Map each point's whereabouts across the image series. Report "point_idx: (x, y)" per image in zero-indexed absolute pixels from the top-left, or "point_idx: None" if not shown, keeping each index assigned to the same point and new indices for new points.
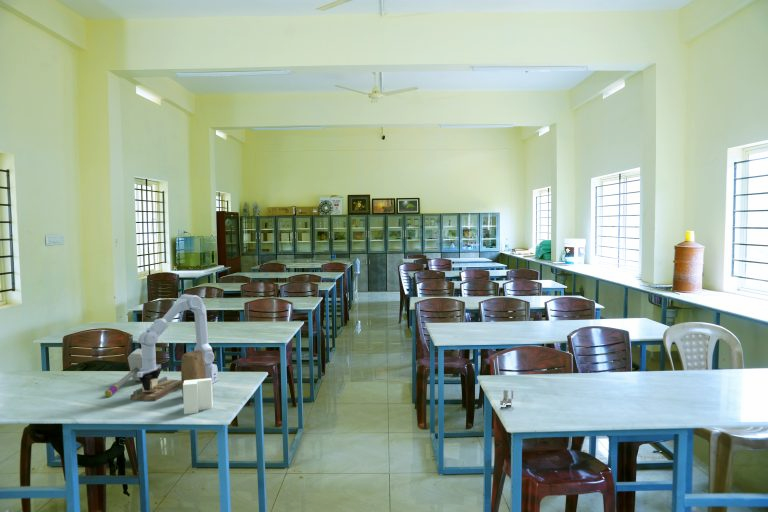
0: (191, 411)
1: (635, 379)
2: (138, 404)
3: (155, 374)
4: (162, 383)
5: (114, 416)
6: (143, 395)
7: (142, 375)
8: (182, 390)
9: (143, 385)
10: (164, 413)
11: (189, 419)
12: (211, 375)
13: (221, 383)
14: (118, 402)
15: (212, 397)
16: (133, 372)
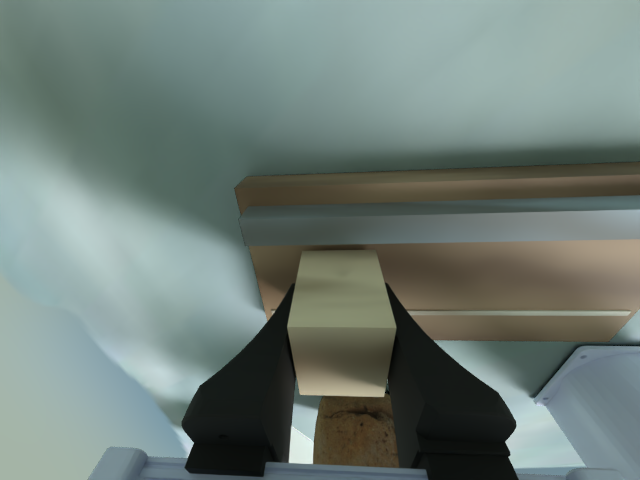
0: None
1: None
2: (199, 276)
3: (399, 435)
4: (575, 244)
5: (21, 273)
6: (262, 279)
7: (181, 471)
8: (315, 435)
9: (277, 314)
10: (178, 393)
11: (181, 439)
12: (576, 451)
13: (541, 417)
14: (157, 121)
15: (312, 463)
16: None
